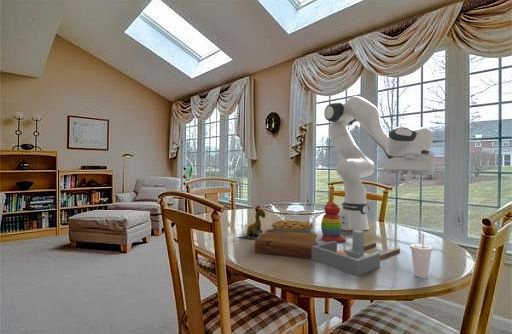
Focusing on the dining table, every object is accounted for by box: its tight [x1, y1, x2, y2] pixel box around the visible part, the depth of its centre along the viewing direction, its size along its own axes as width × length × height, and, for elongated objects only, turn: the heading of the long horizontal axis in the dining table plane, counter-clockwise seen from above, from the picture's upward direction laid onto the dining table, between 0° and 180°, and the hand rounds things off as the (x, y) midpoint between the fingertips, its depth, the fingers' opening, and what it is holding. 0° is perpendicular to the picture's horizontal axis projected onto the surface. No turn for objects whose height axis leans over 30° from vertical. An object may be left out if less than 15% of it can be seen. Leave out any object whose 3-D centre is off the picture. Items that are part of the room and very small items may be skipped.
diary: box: [254, 229, 318, 260], centre depth 122 cm, size 23×19×6 cm
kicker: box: [343, 230, 370, 259], centre depth 110 cm, size 8×9×10 cm
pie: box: [271, 219, 314, 234], centre depth 153 cm, size 22×22×5 cm
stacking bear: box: [320, 201, 346, 243], centre depth 137 cm, size 11×10×18 cm
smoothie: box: [409, 232, 433, 279], centre depth 94 cm, size 6×6×14 cm
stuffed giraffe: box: [240, 205, 266, 241], centre depth 146 cm, size 16×18×16 cm
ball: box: [336, 250, 347, 256], centre depth 104 cm, size 5×5×5 cm
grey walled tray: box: [311, 241, 381, 277], centre depth 105 cm, size 20×13×5 cm, turn 36°
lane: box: [348, 241, 401, 261], centre depth 116 cm, size 12×22×2 cm, turn 126°
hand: (402, 180), depth 122 cm, fingers closed
